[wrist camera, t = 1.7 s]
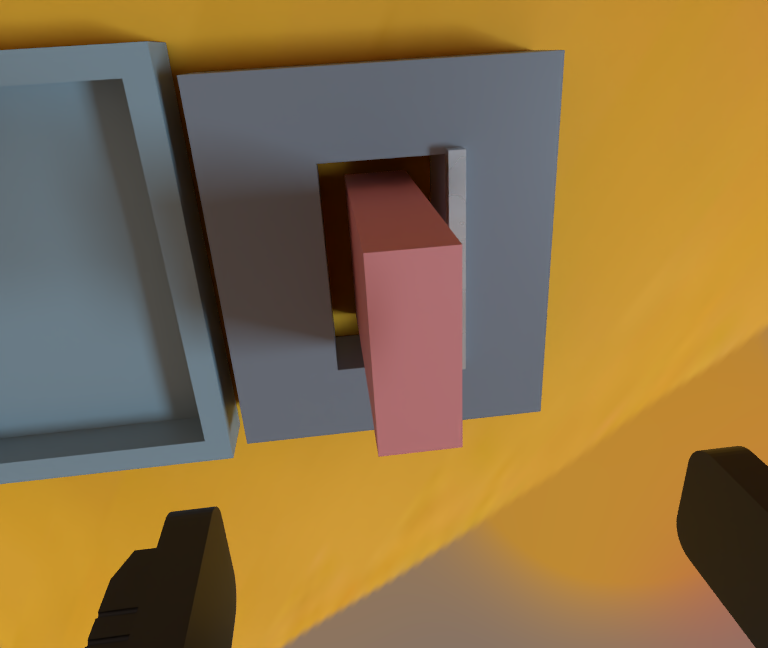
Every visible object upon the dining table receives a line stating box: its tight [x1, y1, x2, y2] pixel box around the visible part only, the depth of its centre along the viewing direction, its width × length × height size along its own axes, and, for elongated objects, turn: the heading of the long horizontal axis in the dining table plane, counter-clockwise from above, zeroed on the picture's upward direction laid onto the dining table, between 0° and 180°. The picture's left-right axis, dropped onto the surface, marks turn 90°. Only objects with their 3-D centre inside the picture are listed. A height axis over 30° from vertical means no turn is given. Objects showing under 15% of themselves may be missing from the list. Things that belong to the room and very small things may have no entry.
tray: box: [0, 41, 240, 484], centre depth 22 cm, size 13×16×2 cm
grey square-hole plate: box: [177, 50, 565, 444], centre depth 23 cm, size 12×14×4 cm
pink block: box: [344, 170, 462, 456], centre depth 20 cm, size 2×6×10 cm, turn 3°
